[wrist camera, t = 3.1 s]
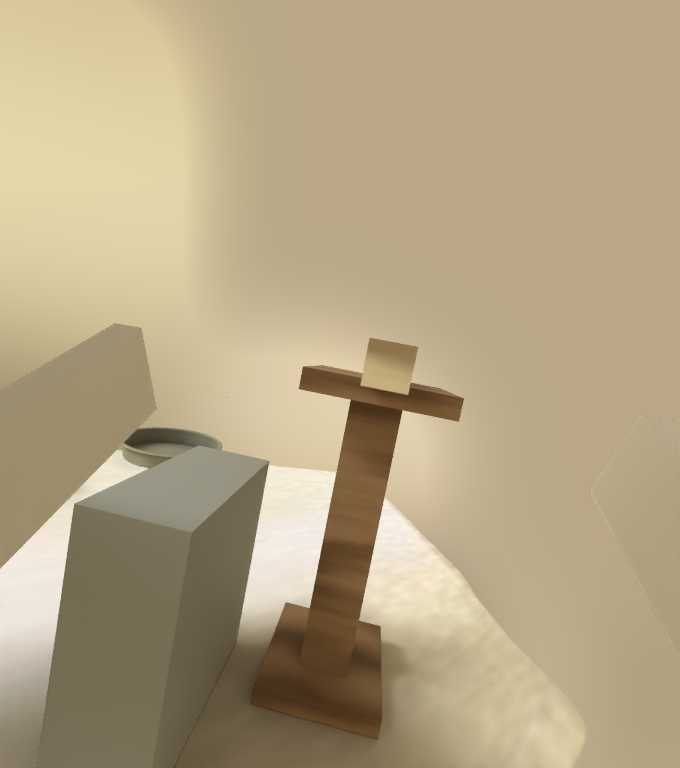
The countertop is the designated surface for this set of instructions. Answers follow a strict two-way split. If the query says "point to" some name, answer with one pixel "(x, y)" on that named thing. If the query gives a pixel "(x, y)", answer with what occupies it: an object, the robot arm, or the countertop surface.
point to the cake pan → (163, 445)
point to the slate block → (149, 609)
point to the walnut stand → (344, 567)
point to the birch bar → (389, 366)
